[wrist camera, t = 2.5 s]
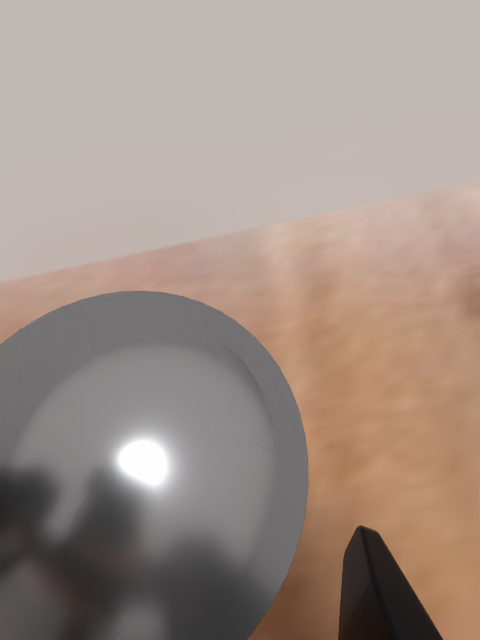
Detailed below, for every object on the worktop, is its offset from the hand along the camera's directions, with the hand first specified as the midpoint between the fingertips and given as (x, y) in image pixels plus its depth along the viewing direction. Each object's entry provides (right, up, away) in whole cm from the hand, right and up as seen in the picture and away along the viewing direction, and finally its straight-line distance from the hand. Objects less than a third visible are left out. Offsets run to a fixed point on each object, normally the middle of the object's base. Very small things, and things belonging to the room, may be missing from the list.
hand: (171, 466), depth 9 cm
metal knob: (0, -4, +7) cm, 8 cm away
